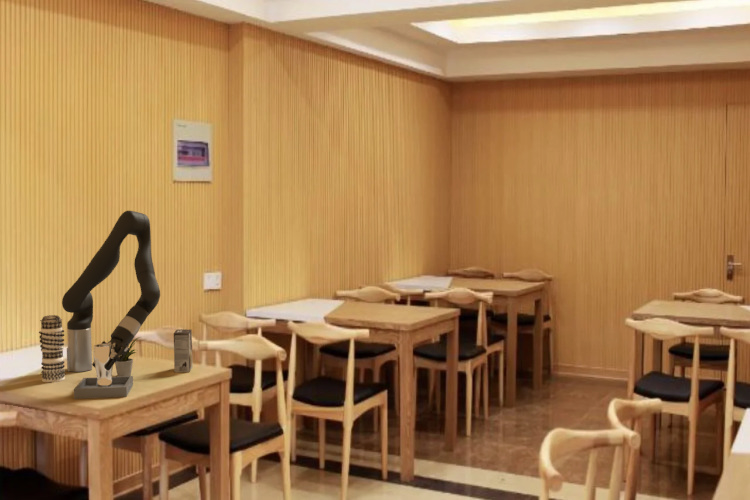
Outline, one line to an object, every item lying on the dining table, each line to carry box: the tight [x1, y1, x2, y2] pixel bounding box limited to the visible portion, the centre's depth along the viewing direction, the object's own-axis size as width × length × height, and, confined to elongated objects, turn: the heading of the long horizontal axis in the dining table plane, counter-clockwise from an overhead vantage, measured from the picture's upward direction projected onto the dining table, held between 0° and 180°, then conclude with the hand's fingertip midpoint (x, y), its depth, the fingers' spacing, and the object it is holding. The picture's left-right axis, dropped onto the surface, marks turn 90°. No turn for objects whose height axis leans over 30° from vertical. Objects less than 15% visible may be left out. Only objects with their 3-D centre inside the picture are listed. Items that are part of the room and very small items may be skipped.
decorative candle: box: [38, 314, 66, 383], centre depth 330 cm, size 9×9×25 cm
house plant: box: [107, 336, 141, 377], centre depth 338 cm, size 14×14×16 cm
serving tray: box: [73, 375, 134, 400], centre depth 311 cm, size 18×18×4 cm
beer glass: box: [93, 343, 114, 387], centre depth 310 cm, size 7×7×15 cm
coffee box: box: [173, 328, 193, 373], centre depth 347 cm, size 9×6×16 cm
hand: (100, 367), depth 309 cm, fingers closed on beer glass, 6 cm apart
